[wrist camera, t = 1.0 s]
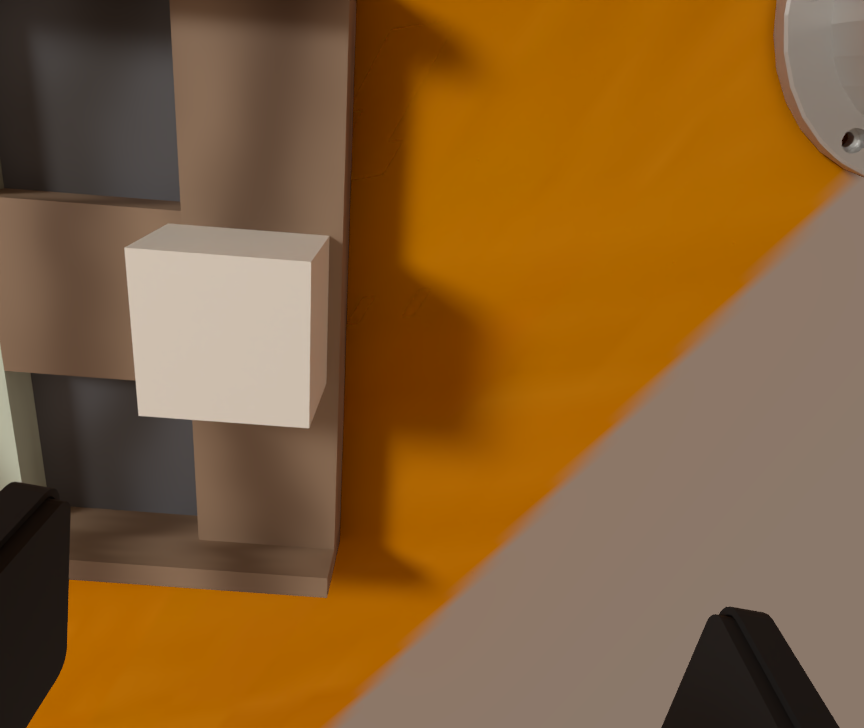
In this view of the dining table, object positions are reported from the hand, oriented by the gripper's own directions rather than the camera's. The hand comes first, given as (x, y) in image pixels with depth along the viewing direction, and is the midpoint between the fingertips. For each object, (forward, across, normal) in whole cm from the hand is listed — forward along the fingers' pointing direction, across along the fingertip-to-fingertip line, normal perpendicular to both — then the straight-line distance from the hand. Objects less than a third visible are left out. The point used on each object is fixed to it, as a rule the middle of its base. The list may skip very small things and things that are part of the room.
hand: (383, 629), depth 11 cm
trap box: (+21, +13, +3) cm, 25 cm away
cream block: (+19, +6, +2) cm, 20 cm away
